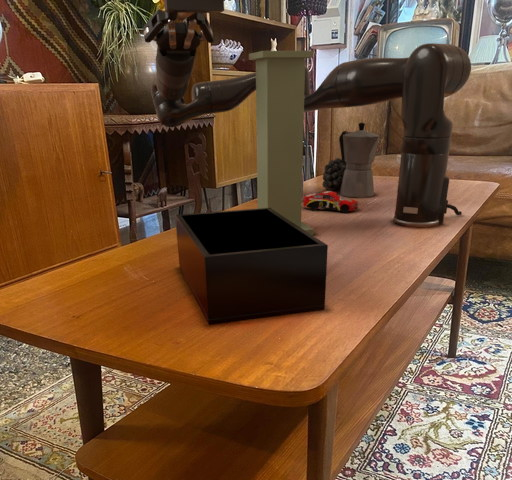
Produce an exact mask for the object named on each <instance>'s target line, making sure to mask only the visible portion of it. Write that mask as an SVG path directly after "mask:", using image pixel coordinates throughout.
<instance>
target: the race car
mask: <svg viewBox="0 0 512 480" xmlns="http://www.w3.org/2000/svg"><path fill="white" fill-rule="evenodd" d="M302 206H303V207H305V208H308V209H310V210H311V211H316V210H327V211H341V213H343V214H346V213H348V212H349V211H351V212H352V211H356V210H358V209H359V202H358V201H357V200H356V199H355V198H351V197H345V196H342V195H341V194H340V193H338V192H337V191H336V192H335V191H334V192H332V191H327V190H322V191H317V192H314V193H309V194H306V195H305V196H304V197H303V200H302Z"/></svg>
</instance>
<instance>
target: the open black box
mask: <svg viewBox="0 0 512 480" xmlns="http://www.w3.org/2000/svg"><path fill="white" fill-rule="evenodd" d="M174 218H175V227H176V240H177V241H176V242H177V252H178V253H177V254H178V265H179V270H180V272H181V274H182V276H183V277H184V280H185V281H186V283H187V285H188V288H189V289H190V292H191V293H192V295H193V297H194V299H195V301H196V303H197V305H198V307H199V309H200V311H201V313H202V315H203V317H204V319H205V321H206V323H207V324H208V326H213V325H221V324H228V323H235V322H244V321H250V320H251V321H252V320H259V319H267V318H275V317H282V316H290V315H296V314H305V313H312V312H321V311H325V307H326V290H327V269H328V268H327V267H328V251H329V250H328V248H329V245H328V244H327V243H325V242H323V241H322V240H321V239H320V238H317V237H316V236H314V235H311V234H310V233H308V232H307V231H305V230H304V229H302V228H300V227H299V226H297V225H296V224H294V223H293V222H291V221H290V220H288V219H287V218H285V217H284V216H282V215H280V214H279V213H277V212H276V211H274V210H273V209H271V208H259V209H258V208H246V209H235V210H233V209H232V210H219V211H207V212H192V213H183V214H175V215H174Z"/></svg>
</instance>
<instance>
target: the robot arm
mask: <svg viewBox="0 0 512 480" xmlns="http://www.w3.org/2000/svg"><path fill="white" fill-rule="evenodd" d="M197 25H198V26H199V27H198V28H199V29H200V33H199V32H198V31H197V30H196V26H197ZM142 31H143V37H144V42H145V43H148V44H149V43H151V42H152V41H154V42H155V43H156V55H155V70H156V72H155V78H154V79H153V81H152V83H151V85H150V93H151V98H152V102H153V105H154V110H155V113H156V117H157V121H158V122H159V123H160V124H161V125H162V126H163V127H166V128H176V127H179V126H182V125H183V124H186V123H187V122H189V121H191V120H194V119H197V118H199V117H201V116H205V115H212V114H220V113H226V112H230V111H232V110H234V109H236V108H238V107H239V106H240V105H241V104H242V103H244V102H245V101H246V99H248V98H249V97H250V96H251V95H252V94H253V93H254V92H256V71H255V72H250V73H246V74H243V75H239V76H236V77H232V78H226V79H225V78H224V79H217V80H208V81H201V82H195V83H194V84H193V85H192V86H191V102H190V103H186V102H185V98H184V97H185V95H186V93H187V91H188V88H189V83H190V78H191V77H192V73H193V71H194V70H193V69H194V65H195V61H196V55H197V49H198V47H200V46H201V42H204V41H207V43H209V44H212V43H214V39H215V38H214V34H213V28H212V26H211V24H210V22H209V19H208V18H207V16H206V13H194V14H192V15H191V16H189V17H188V18H186V19H185V20H182V21H181V22H177V12H165V11H163V10H161V9H158V10H156V11H154V13H153V14H152V16H151V17H150V18H149V19H148V21H147V22H146V23H145V24H144V26H143V27H142ZM471 73H472V62H471V59H470V56H469V55H468V53H467V52H466V51H465V50H464V49H463V48H461V47H460V46H457V45H455V44H451V43H437V42H436V43H434V42H433V43H432V42H431V43H429V42H428V43H423V44H421V45H419V46H417V47H416V48H415V49H414V50H413V51H412V52H411V54H409V57H372V58H371V57H370V58H368V57H367V58H361V59H360V58H359V59H354V60H350V61H349V60H348V61H346V62H342V63H339V64H338V65H337V66H335V67H334V68H333V69H332V70H331V71H330V72H329V73H328V74H327V75H326V77H325V78H324V79H323V81H322V82H321V83H320V85H319V86H318V88H316V90H314V91H313V92H312V91H311V80H310V79H311V78H310V71H309V67H308V66H306V65H305V87H304V113H310V112H314V111H320V110H326V109H342V108H343V109H344V108H345V109H346V108H357V107H365V106H370V105H376V104H381V103H385V102H390V101H393V100H398V99H401V109H400V118H401V123H402V126H403V135H402V142H401V153H400V156H401V162H400V164H399V170H398V171H399V173H398V182H397V190H396V200H395V208H394V209H395V210H394V216H393V222H394V223H395V224H397V225H400V226H404V227H409V228H410V227H411V228H430V227H436V226H439V225H441V226H442V225H444V220H445V215H446V214H447V212H448V209H449V210H452V211H453V212H454V214H455V215H456V216H461V215H462V214H463V211H460V210H459V209H458V208H457V206H455V205H453V204H449V200H448V192H449V186H450V177H449V176H447V171H448V170H447V169H448V163H449V156H450V150H451V142H452V135H453V129H454V125H453V124H454V123H453V120H451V119H450V118H449V117H448V116H447V114H446V113H445V110H444V109H445V108H444V107H445V98H448V97H451V96H452V95H454V94H456V93H458V92H459V91H460V90H461V89H462V88H463V87H464V86H465V85H466V83H467V82H468V81H469V78H470V76H471Z"/></svg>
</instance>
